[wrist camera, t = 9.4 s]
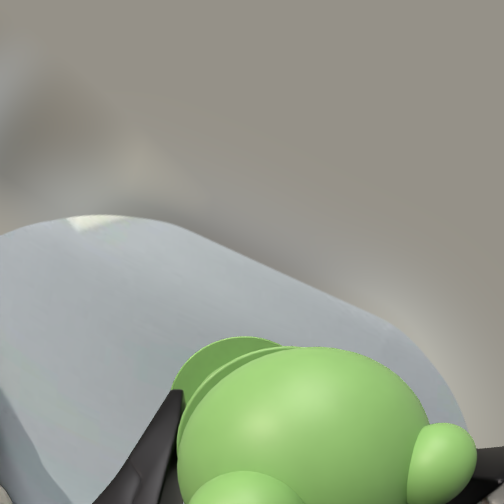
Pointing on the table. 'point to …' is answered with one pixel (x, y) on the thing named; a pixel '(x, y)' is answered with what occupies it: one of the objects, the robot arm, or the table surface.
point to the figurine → (4, 497)
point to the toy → (310, 430)
